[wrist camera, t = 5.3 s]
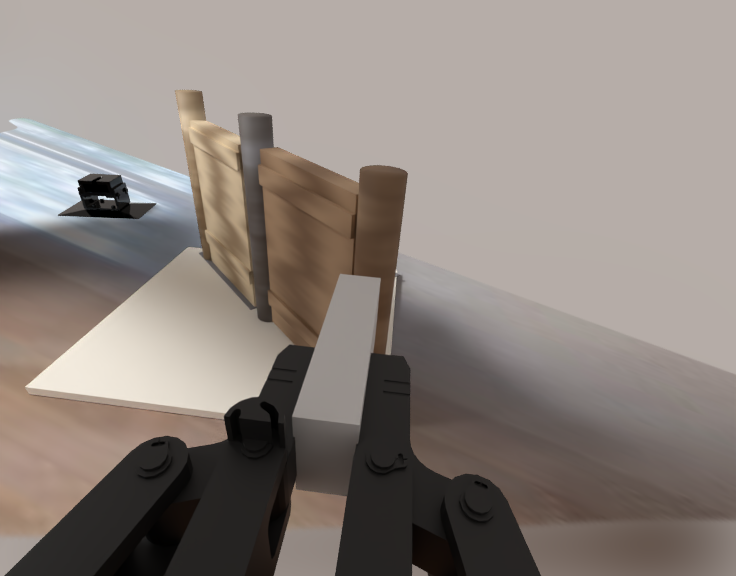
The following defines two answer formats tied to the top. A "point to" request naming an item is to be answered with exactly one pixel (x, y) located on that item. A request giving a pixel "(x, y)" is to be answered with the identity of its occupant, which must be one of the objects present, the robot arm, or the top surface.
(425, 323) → the top surface
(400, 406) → the robot arm
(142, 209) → the black blocky piece
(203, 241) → the fixed fence section
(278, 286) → the panel
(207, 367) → the card
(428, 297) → the top surface
